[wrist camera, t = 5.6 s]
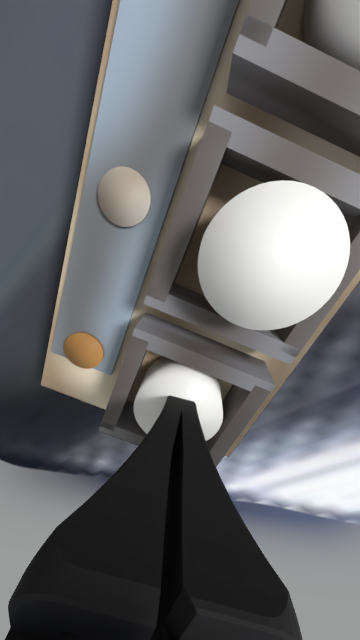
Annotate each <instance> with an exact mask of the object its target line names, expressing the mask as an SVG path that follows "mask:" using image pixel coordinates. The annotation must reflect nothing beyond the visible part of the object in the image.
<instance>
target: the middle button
mask: <svg viewBox="0 0 360 640" xmlns="http://www.w3.org/2000/svg"><path fill="white" fill-rule="evenodd" d="M349 255H350V237H349V231H348V227H347V223H346V221H345V218H344V216H343V214H342V212H341V211H340V209H339V208H338V206H337V205H336V204H335V203H334V201H333V200H332V199H331V198H330V197H328V196H327V195H326V194H325V193H324V192H322V191H320V190H319V189H317V188H315V187H313V186H310V185H308V184H305V183H301V182H296V181H284V180H281V181H271V182H267V183H263V184H259V185H256V186H254V187H251V188H249V189H247V190H245V191H243V192H242V193H240V194H238V195H237V196H235V197H234V198H233V199H231V200H230V201H229V202H228V203H227V204H226V205H224V206H223V207H222V208H221V209H220V211H219V212H218V213H217V214H216V215H215V217H214V218H213V219H212V220H211V222H210V223H209V225H208V227H207V229H206V231H205V233H204V235H203V238H202V241H201V245H200V249H199V254H198V276H199V282H200V285H201V288H202V291H203V293H204V295H205V297H206V299H207V301H208V302H209V304H210V305H211V306H212V307H213V309H214V310H215V311H216V312H217V313H218V314H219V315H221V316H222V317H223V318H225V319H226V320H228V321H229V322H231V323H233V324H235V325H238V326H240V327H243V328H247V329H252V330H275V329H281V328H285V327H288V326H291V325H294V324H296V323H298V322H300V321H302V320H304V319H306V318H308V317H309V316H311V315H312V314H314V313H315V312H316V311H317V310H319V309H320V308H321V307H322V306H323V305H324V304H325V303H326V302H327V301H328V300H329V299H330V298H331V296H332V295H333V294H334V293H335V291H336V289H337V288H338V286H339V285H340V283H341V281H342V278H343V276H344V274H345V271H346V268H347V265H348V260H349Z"/></svg>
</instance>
